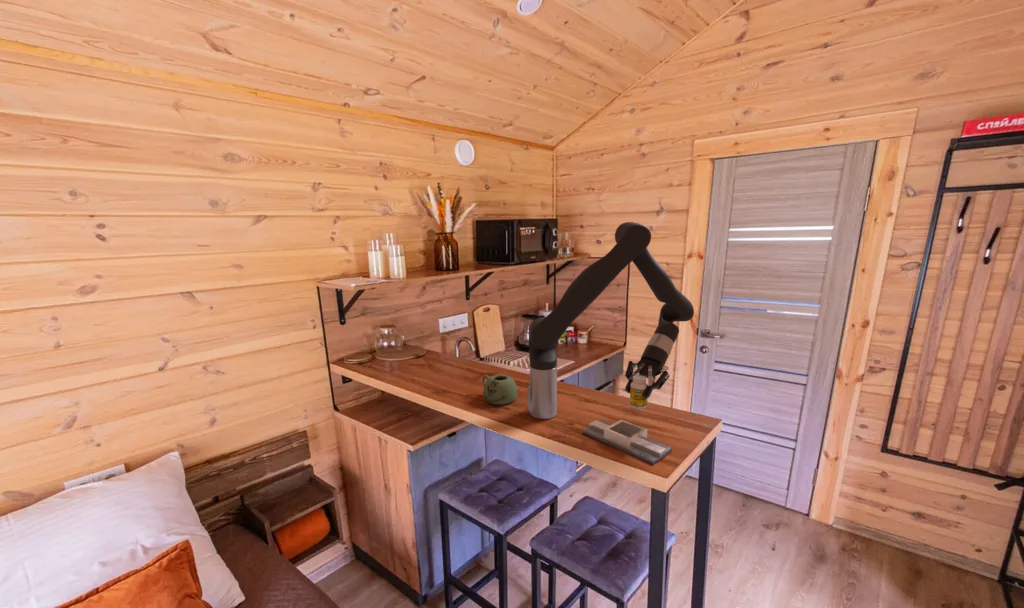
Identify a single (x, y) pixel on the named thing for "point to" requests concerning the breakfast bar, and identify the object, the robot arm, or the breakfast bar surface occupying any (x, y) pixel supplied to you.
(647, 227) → the robot arm
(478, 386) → the breakfast bar surface
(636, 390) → the supplement bottle
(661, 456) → the rail collar
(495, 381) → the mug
